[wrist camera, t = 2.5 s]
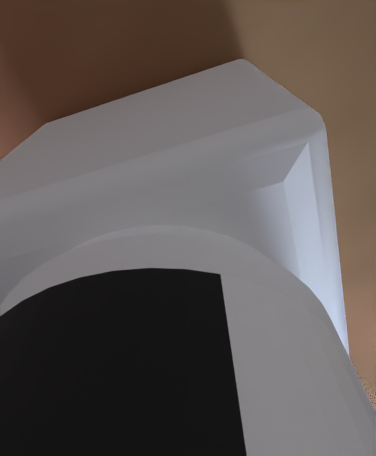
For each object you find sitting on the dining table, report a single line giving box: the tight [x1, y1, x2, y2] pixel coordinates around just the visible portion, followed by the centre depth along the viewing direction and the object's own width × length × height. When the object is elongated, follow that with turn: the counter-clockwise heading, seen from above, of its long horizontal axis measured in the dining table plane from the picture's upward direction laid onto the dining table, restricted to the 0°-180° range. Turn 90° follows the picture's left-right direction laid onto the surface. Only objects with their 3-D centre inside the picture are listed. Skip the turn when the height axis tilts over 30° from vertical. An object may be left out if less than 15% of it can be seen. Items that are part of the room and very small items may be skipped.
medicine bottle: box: [0, 59, 376, 456], centre depth 8 cm, size 7×7×12 cm
